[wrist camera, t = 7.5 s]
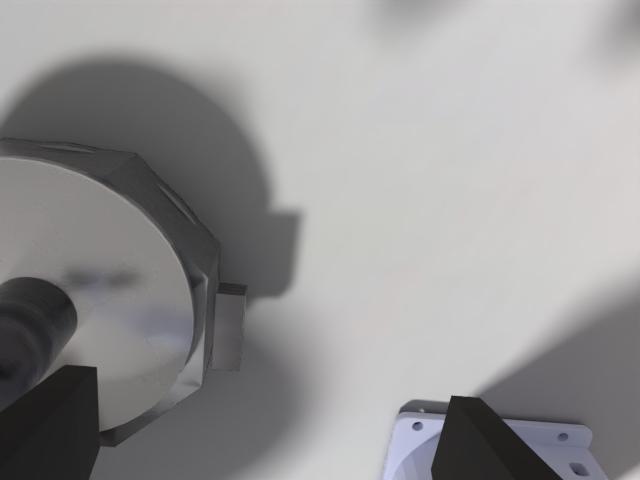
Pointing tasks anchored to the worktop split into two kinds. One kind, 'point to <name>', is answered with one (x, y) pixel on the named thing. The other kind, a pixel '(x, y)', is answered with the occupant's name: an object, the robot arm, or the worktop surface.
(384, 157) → the worktop surface
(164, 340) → the lid
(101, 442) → the pot
